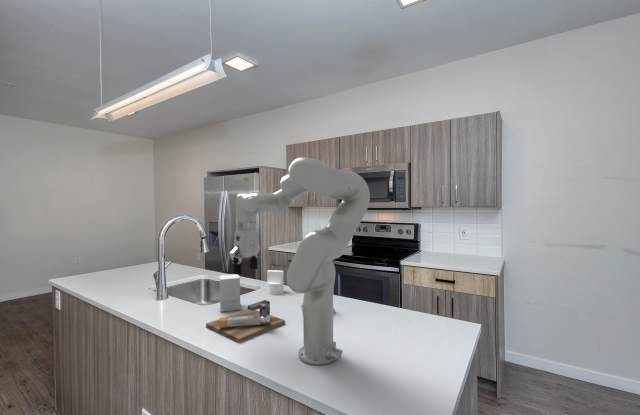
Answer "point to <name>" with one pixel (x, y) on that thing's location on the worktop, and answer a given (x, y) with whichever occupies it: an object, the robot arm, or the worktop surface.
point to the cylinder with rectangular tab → (275, 282)
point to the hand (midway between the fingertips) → (245, 271)
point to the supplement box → (229, 292)
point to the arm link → (247, 319)
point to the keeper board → (246, 331)
